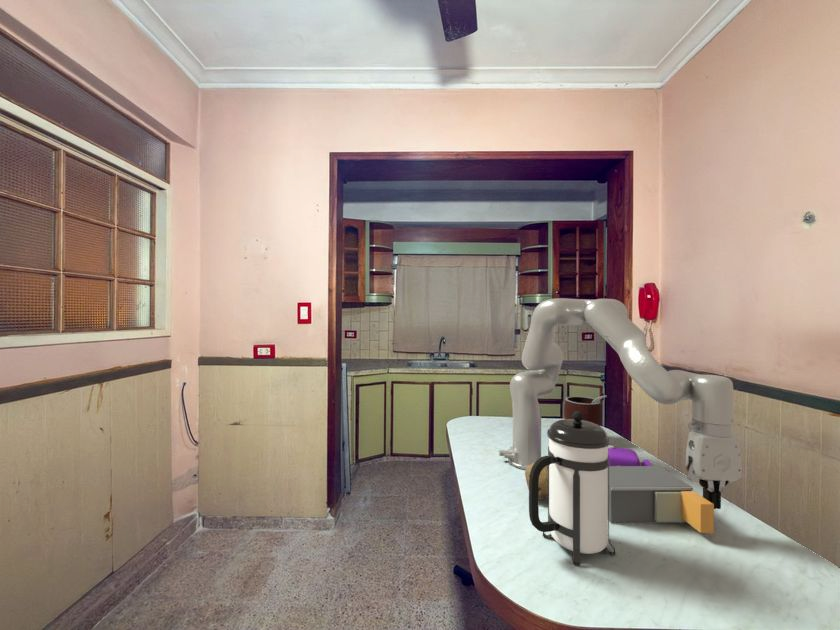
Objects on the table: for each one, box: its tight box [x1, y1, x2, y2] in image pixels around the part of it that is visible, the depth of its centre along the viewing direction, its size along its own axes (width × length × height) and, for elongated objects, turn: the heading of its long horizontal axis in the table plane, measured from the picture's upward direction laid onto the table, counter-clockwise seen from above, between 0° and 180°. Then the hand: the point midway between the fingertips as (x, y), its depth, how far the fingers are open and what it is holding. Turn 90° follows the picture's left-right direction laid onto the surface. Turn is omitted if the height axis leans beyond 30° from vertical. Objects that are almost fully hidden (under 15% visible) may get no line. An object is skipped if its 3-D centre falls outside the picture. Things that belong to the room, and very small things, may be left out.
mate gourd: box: [563, 394, 607, 427], centre depth 144 cm, size 16×14×20 cm
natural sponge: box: [524, 462, 548, 500], centre depth 101 cm, size 9×9×10 cm
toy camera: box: [608, 444, 652, 466], centre depth 110 cm, size 11×14×10 cm
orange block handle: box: [655, 490, 715, 534], centre depth 85 cm, size 9×7×8 cm
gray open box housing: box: [609, 465, 694, 524], centre depth 94 cm, size 22×12×9 cm, turn 90°
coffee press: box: [528, 411, 616, 566], centre depth 80 cm, size 17×16×30 cm
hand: (711, 505), depth 84 cm, fingers closed
